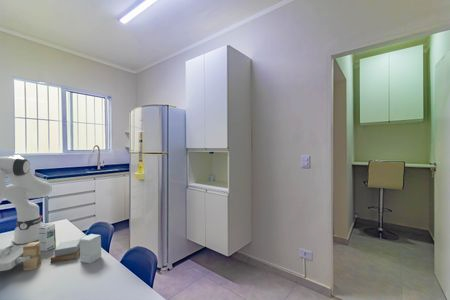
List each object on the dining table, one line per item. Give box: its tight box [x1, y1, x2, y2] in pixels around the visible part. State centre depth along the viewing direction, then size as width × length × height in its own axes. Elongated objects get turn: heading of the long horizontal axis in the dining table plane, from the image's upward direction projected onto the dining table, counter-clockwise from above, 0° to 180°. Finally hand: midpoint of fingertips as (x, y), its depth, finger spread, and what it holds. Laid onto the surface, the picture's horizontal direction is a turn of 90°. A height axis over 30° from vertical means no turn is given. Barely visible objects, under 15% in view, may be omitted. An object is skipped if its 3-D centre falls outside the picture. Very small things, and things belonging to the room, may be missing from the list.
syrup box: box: [38, 223, 57, 252], centre depth 131 cm, size 6×6×14 cm
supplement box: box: [78, 233, 102, 264], centre depth 117 cm, size 7×7×13 cm
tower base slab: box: [50, 248, 80, 264], centre depth 122 cm, size 12×12×4 cm
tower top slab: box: [54, 239, 80, 256], centre depth 122 cm, size 10×10×4 cm
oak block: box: [22, 241, 42, 271], centre depth 110 cm, size 5×5×12 cm
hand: (34, 254), depth 111 cm, fingers closed on oak block, 5 cm apart
